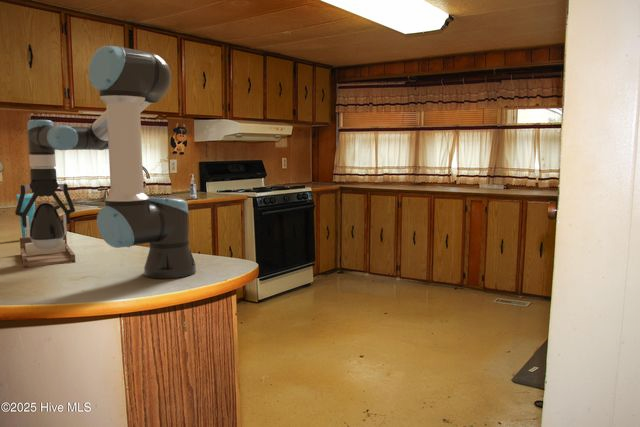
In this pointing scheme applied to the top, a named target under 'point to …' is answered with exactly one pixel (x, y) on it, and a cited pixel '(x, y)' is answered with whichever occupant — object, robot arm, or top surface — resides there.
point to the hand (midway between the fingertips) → (47, 235)
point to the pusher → (34, 250)
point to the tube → (30, 213)
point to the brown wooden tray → (45, 255)
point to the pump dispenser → (46, 227)
